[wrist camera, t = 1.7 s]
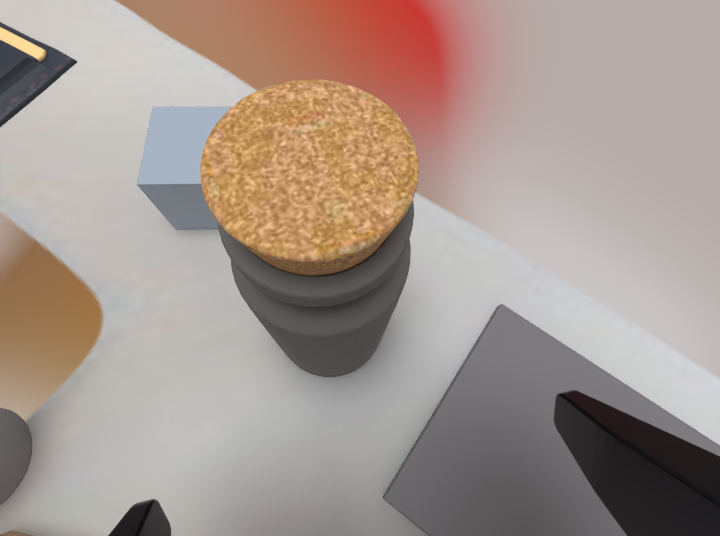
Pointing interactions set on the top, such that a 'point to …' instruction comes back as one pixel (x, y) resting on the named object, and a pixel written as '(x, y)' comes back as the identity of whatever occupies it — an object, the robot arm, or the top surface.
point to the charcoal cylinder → (13, 452)
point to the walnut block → (13, 534)
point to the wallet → (26, 70)
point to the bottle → (315, 215)
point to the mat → (514, 442)
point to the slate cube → (178, 164)
